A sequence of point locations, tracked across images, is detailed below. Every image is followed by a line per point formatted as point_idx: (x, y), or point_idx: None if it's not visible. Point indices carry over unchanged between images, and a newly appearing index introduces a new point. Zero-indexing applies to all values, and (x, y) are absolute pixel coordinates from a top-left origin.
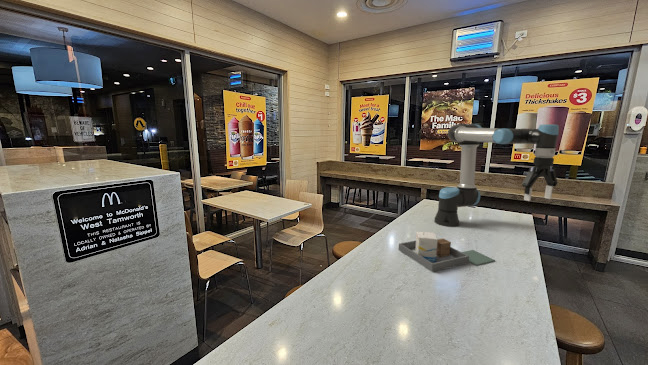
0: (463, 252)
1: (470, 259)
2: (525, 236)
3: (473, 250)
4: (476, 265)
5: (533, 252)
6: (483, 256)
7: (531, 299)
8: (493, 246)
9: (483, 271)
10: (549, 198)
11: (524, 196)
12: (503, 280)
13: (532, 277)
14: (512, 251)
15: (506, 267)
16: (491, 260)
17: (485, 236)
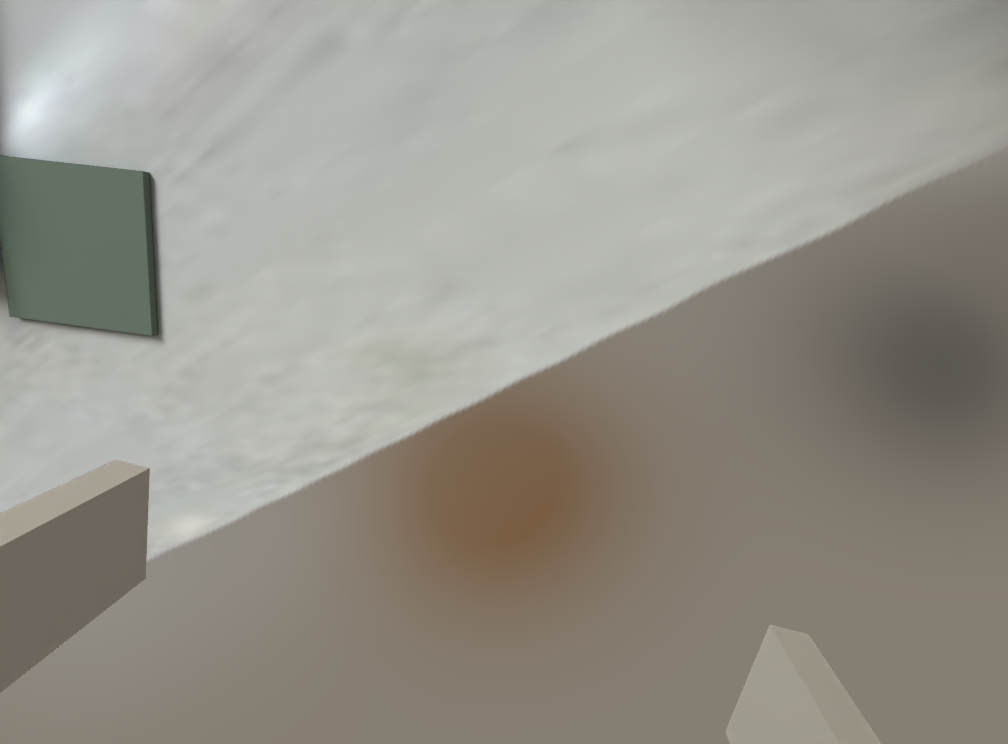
0: (51, 169)
1: (23, 259)
2: (802, 197)
3: (137, 181)
4: (17, 315)
5: (498, 387)
6: (126, 273)
7: None
8: (348, 195)
9: (9, 370)
10: (733, 740)
11: (31, 504)
12: (32, 463)
13: (181, 517)
14: (388, 310)
15: (155, 406)
16: (128, 328)
17: (486, 21)
